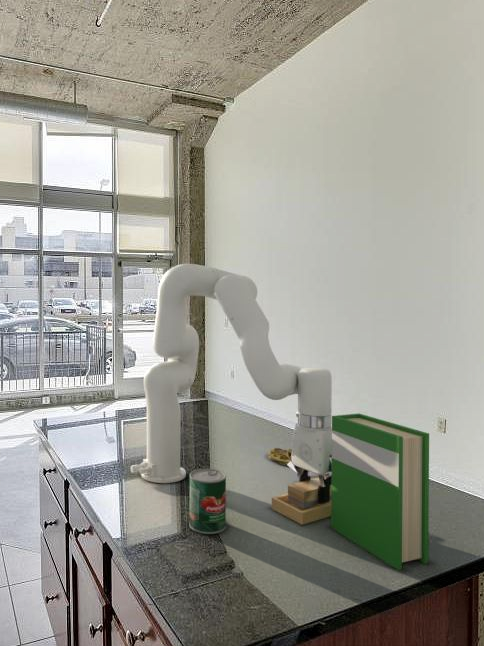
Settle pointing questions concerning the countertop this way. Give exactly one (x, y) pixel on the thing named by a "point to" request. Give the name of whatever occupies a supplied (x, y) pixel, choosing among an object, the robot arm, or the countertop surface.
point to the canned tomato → (207, 501)
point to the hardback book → (381, 487)
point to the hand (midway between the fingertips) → (314, 497)
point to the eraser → (305, 492)
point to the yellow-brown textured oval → (280, 455)
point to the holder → (300, 510)
